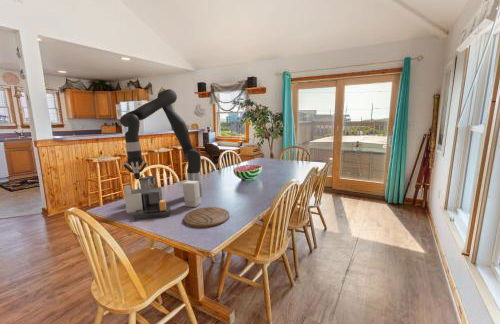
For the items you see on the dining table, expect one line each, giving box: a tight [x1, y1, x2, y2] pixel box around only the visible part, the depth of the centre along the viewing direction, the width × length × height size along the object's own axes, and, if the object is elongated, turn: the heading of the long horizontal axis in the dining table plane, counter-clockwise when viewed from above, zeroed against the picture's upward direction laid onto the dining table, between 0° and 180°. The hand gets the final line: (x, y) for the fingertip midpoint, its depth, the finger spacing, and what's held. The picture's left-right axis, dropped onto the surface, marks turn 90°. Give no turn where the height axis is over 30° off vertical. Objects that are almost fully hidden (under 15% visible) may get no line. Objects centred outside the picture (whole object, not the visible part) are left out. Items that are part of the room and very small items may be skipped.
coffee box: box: [138, 175, 157, 189], centre depth 172 cm, size 9×6×16 cm
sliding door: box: [123, 184, 143, 214], centre depth 147 cm, size 9×2×16 cm, turn 103°
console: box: [132, 206, 171, 221], centre depth 144 cm, size 19×8×3 cm, turn 103°
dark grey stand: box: [127, 186, 163, 216], centre depth 153 cm, size 18×12×12 cm
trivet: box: [183, 206, 230, 229], centre depth 139 cm, size 25×25×2 cm
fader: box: [159, 199, 167, 211], centre depth 145 cm, size 3×4×5 cm
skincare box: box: [182, 180, 202, 208], centre depth 159 cm, size 8×7×16 cm
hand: (137, 179), depth 145 cm, fingers closed
